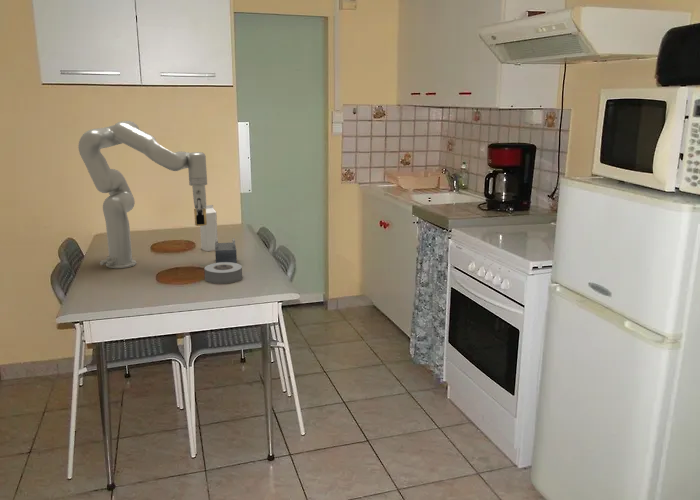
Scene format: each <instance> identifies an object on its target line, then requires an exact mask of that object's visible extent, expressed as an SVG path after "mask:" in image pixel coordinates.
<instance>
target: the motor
mask: <svg viewBox="0 0 700 500" xmlns="http://www.w3.org/2000/svg"><path fill="white" fill-rule="evenodd" d="M218 240H219V238H218V239H215V241H216V243H215V250H214V251H215V252H214V253H215V263H220V262H231V263H237V264H238V262H237V261H238V259H237V258H238V257H237V255H238V254H237V247H236V238H232V242H219V241H218Z"/></svg>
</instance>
